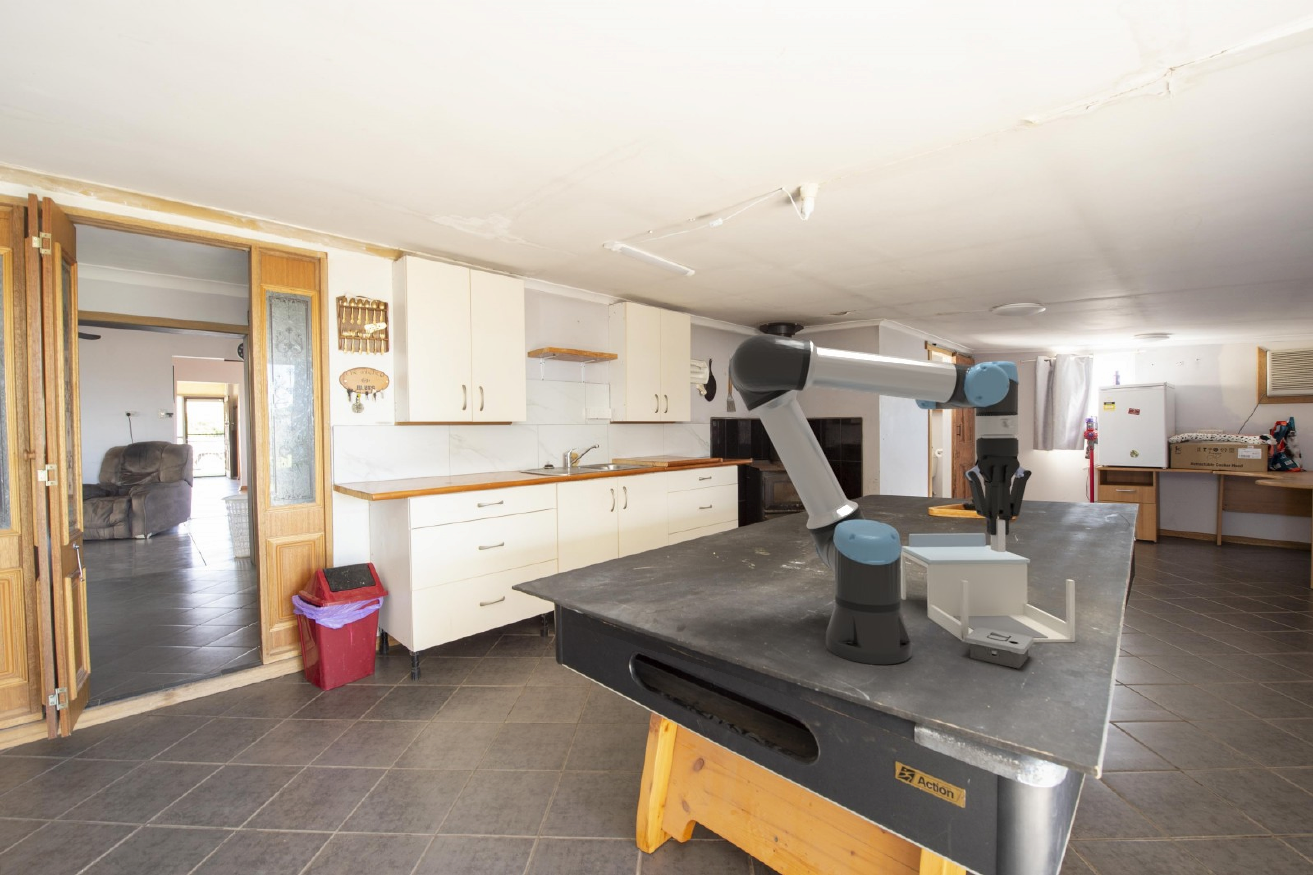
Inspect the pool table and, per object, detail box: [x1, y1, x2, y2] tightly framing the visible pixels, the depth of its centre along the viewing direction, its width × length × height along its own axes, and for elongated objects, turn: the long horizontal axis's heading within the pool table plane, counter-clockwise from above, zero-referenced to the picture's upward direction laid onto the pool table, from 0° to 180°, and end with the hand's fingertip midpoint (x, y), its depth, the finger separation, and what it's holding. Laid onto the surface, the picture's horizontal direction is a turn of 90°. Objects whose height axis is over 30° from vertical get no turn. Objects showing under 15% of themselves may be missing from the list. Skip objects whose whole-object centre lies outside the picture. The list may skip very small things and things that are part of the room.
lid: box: [901, 532, 1031, 564], centre depth 132 cm, size 22×15×4 cm
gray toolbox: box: [964, 627, 1035, 669], centre depth 104 cm, size 9×5×9 cm
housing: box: [901, 550, 1076, 643], centre depth 126 cm, size 22×29×12 cm
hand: (998, 550), depth 118 cm, fingers closed
